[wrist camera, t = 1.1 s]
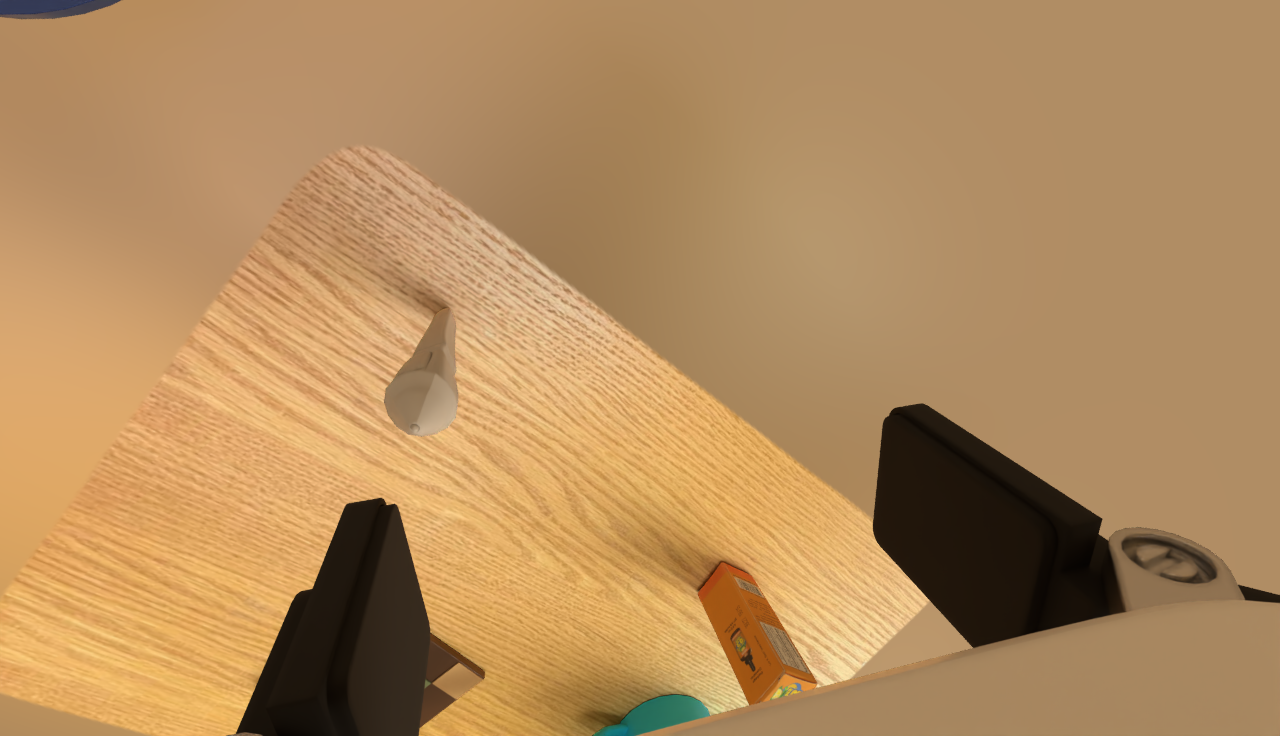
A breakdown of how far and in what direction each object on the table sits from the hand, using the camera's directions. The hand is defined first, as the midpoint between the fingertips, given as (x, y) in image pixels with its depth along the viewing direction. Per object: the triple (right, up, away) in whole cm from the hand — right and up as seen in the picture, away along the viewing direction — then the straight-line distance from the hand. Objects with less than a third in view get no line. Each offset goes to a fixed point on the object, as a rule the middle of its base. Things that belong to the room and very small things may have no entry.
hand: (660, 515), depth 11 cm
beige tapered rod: (-11, +6, +22) cm, 25 cm away
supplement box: (+6, -13, +34) cm, 37 cm away
